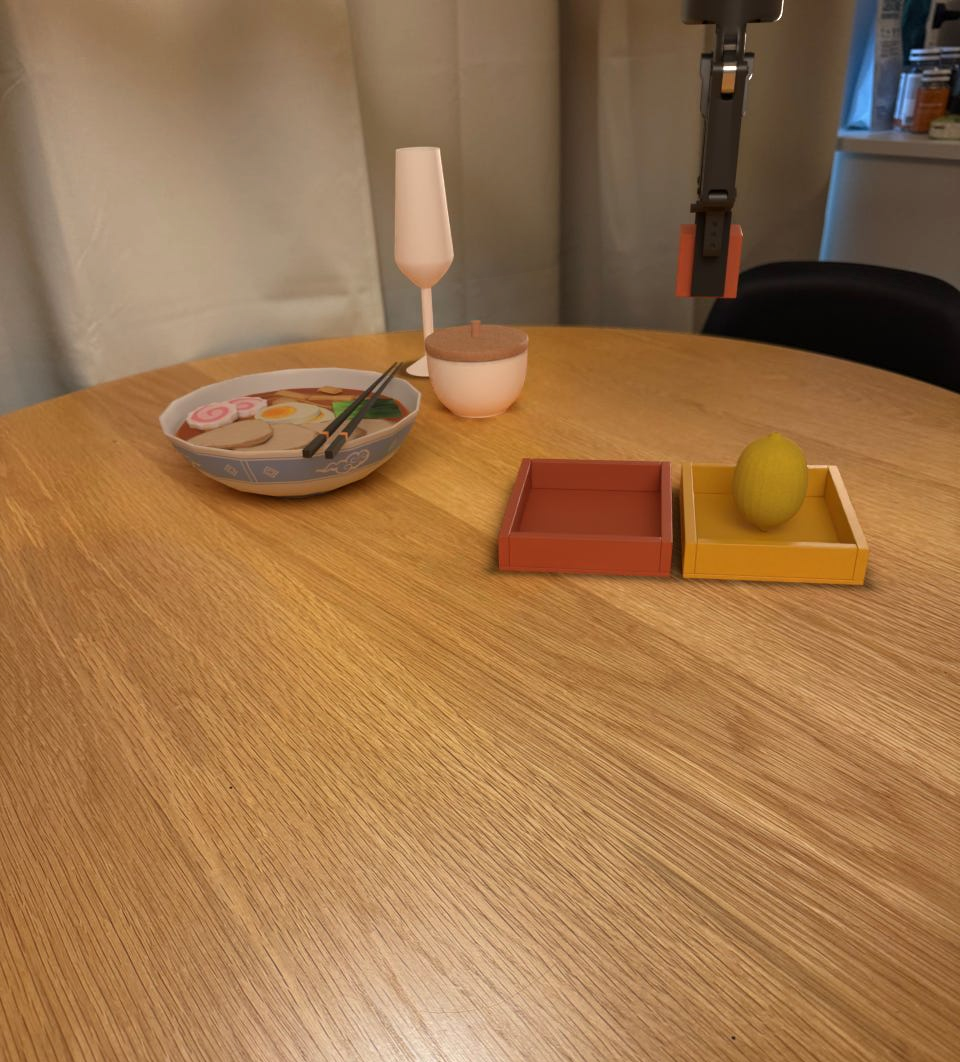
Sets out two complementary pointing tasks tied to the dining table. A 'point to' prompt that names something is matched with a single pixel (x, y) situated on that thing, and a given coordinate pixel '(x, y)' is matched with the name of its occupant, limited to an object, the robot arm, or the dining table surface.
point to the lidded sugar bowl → (477, 367)
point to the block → (688, 255)
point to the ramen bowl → (293, 428)
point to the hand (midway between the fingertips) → (706, 287)
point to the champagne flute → (421, 228)
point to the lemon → (770, 481)
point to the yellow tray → (769, 532)
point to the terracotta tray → (589, 518)
